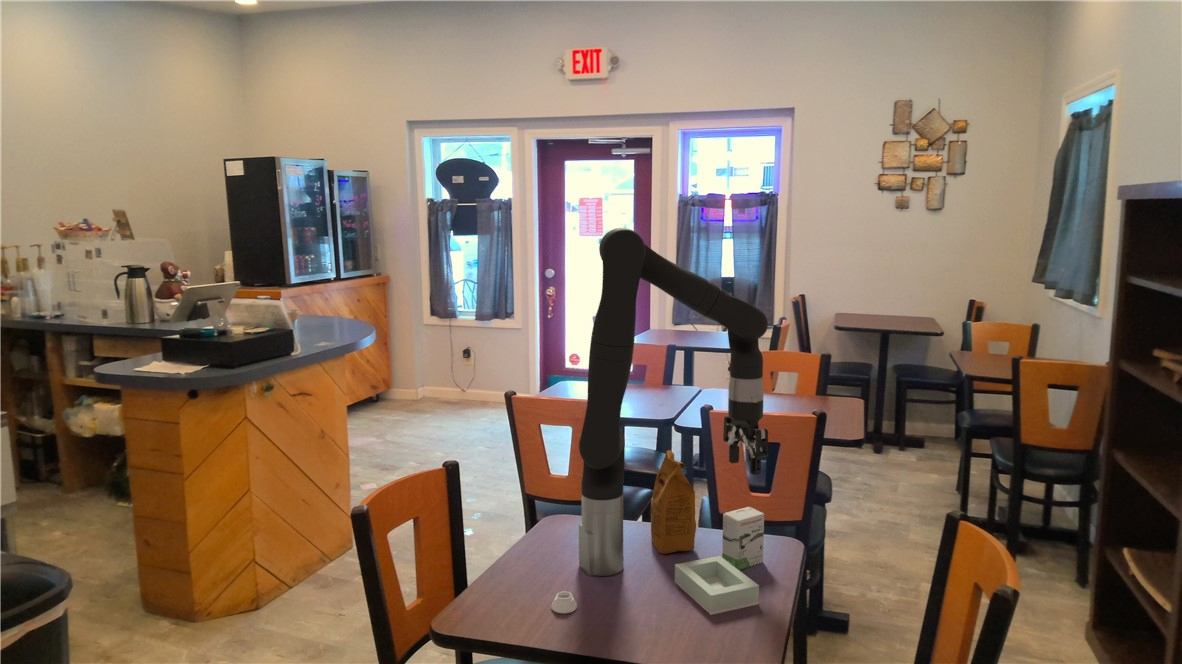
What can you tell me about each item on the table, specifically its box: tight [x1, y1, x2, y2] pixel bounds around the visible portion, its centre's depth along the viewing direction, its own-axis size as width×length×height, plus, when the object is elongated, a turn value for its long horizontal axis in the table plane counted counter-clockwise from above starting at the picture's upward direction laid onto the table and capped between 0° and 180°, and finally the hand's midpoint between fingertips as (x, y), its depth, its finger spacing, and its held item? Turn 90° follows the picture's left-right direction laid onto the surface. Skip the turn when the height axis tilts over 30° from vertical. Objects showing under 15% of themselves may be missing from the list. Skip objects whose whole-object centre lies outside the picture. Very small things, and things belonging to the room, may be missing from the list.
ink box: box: [721, 506, 765, 571], centre depth 170 cm, size 9×5×12 cm, turn 123°
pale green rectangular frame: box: [674, 555, 760, 616], centre depth 157 cm, size 11×15×4 cm
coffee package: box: [650, 449, 697, 555], centre depth 180 cm, size 10×12×22 cm
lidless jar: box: [551, 591, 578, 614], centre depth 152 cm, size 5×3×5 cm
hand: (744, 468), depth 168 cm, fingers open, 8 cm apart
